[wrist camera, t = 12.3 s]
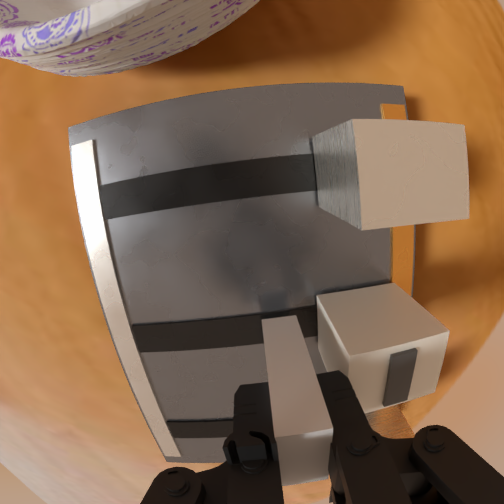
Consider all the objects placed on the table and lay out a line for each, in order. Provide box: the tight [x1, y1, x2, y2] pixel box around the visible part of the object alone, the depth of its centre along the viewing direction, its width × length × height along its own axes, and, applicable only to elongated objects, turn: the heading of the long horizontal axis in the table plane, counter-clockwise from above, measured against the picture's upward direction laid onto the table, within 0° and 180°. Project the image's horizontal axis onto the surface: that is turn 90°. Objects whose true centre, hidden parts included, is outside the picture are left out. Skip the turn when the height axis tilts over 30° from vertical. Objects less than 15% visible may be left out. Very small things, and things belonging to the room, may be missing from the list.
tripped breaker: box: [317, 283, 450, 413], centre depth 12 cm, size 4×3×5 cm
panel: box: [68, 83, 469, 463], centre depth 13 cm, size 16×22×7 cm
